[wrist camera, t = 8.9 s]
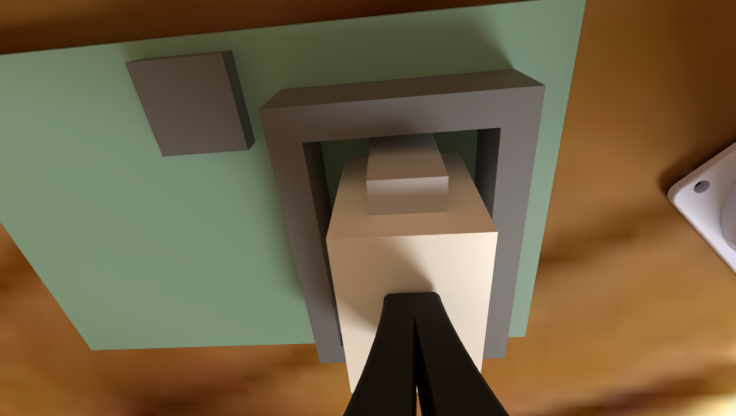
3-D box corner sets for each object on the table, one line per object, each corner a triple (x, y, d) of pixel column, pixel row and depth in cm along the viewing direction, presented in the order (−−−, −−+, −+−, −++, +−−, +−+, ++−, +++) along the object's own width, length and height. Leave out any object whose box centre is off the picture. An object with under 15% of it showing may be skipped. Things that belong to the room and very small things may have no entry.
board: (570, -5, 11) (642, -6, 8) (517, 320, 18) (545, 385, 15) (-77, 62, 13) (-221, 81, 10) (104, 334, 20) (53, 395, 17)
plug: (452, 282, 16) (478, 391, 11) (360, 285, 16) (351, 392, 12) (459, 124, 12) (502, 193, 8) (342, 131, 12) (319, 202, 8)
